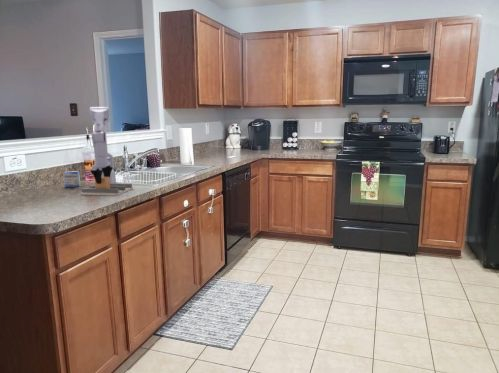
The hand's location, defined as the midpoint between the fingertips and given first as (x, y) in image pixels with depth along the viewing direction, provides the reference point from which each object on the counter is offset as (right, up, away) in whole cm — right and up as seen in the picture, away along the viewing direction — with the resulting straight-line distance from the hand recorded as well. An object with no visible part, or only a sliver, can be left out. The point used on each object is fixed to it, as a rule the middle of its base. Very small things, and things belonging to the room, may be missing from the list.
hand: (103, 182), depth 197 cm
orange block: (0, -4, +1) cm, 4 cm away
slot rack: (+1, -5, +4) cm, 7 cm away
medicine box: (-25, -2, +21) cm, 33 cm away
